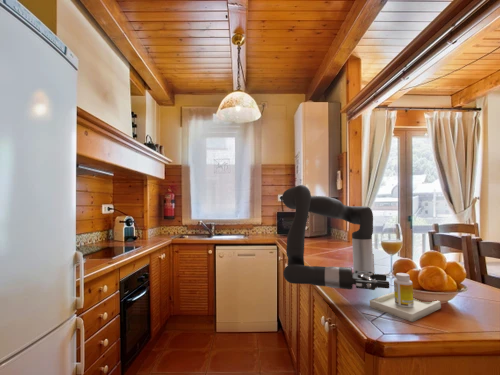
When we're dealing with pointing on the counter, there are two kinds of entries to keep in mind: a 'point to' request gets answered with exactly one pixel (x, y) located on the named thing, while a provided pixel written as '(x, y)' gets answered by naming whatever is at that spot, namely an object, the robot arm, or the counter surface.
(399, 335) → the counter surface
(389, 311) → the tray
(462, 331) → the counter surface
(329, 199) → the robot arm
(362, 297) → the counter surface
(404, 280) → the supplement bottle
